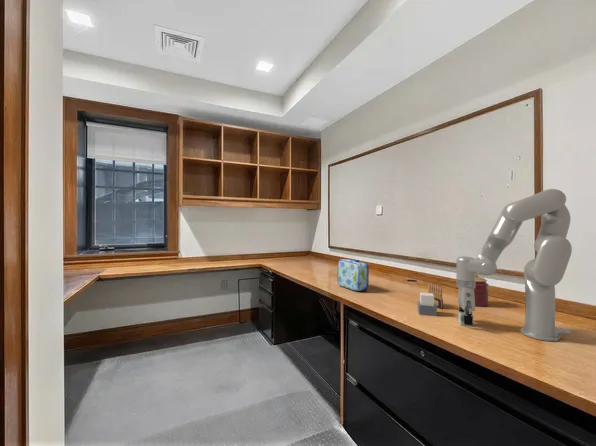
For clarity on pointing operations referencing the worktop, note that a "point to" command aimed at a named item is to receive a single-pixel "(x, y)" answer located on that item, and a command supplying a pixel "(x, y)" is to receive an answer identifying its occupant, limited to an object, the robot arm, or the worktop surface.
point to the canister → (481, 291)
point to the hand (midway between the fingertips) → (465, 321)
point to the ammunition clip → (436, 295)
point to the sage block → (462, 319)
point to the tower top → (427, 299)
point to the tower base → (427, 310)
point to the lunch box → (353, 274)
